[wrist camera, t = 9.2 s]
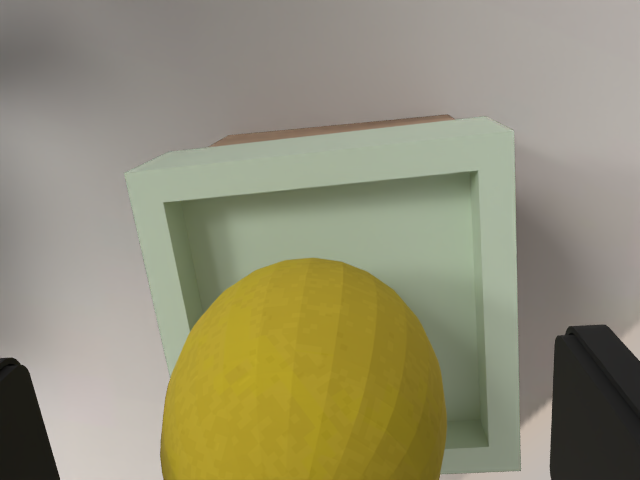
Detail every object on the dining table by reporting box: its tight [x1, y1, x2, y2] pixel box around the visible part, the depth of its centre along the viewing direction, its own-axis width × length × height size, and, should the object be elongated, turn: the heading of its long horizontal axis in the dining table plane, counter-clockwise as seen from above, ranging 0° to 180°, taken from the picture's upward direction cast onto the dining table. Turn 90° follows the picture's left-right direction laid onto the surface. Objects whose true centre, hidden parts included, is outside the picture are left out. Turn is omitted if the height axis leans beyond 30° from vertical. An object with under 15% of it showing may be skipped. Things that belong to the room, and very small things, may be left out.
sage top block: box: [124, 116, 521, 474], centre depth 16 cm, size 9×9×3 cm
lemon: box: [160, 258, 447, 480], centre depth 12 cm, size 6×6×8 cm
